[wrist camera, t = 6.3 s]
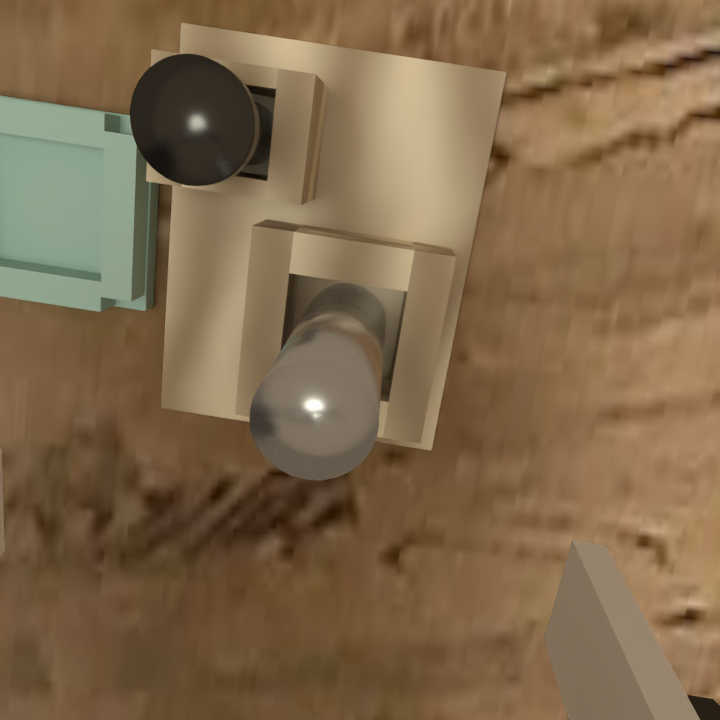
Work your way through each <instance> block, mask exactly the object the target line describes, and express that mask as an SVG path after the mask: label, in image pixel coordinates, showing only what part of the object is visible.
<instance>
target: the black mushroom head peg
mask: <svg viewBox="0 0 720 720" xmlns="http://www.w3.org/2000/svg"><path fill="white" fill-rule="evenodd" d="M273 117H274V116H273V114H272V113H271V112H270V110H268V109H267V108H266V107H265V106H263V105H262V104H260V103H257V102H255V101H254V98H253V96H252V94H251V92H250V91H249V89H248V88H247V86H246V85H245V83H244V82H243V81H242V80H241V79H240V78H239V77H238V76H237V75H236V74H235V73H234V72H232V71H231V70H230V69H228V68H227V67H225V66H223V65H221V64H219V63H218V62H216V61H214V60H212V59H210V58H207V57H204V56H201V55H196V54H177V55H172V56H169V57H166V58H164V59H162V60H160V61H158V62H157V63H155V64H154V65H153V66H151V67H150V68H149V69H148V70H147V71H146V72H145V73H144V74H143V76H142V77H141V79H140V80H139V82H138V84H137V86H136V88H135V90H134V93H133V96H132V101H131V107H130V123H131V130H132V133H133V137H134V140H135V142H136V145H137V147H138V149H139V151H140V153H141V154H142V156H143V157H144V159H145V160H146V161H147V162H148V164H149V165H150V166H151V167H152V168H153V169H154V170H156V171H157V172H158V173H159V174H161V175H162V176H164V177H165V178H167V179H169V180H171V181H173V182H176V183H179V184H183V185H187V186H205V185H213V184H218V183H222V182H224V181H227V180H229V179H231V178H233V177H234V176H236V175H237V174H238V173H240V172H241V171H242V170H243V169H244V168H245V166H246V165H257V164H261V163H263V162H265V161H266V160H268V159H269V158H270V148H271V138H272V128H273Z"/></svg>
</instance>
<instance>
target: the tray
mask: <svg viewBox="0 0 720 720" xmlns="http://www.w3.org/2000/svg"><path fill="white" fill-rule="evenodd" d="M146 172H147V161H146V160H145V159H144V157H143V156H142V154H141V153H140V151H139V149H138V147H137V145H136V142H135V140H134V137H133V133H132V130H131V123H130V115H124V114H117V113H111V112H104V111H98V110H91V109H85V108H78V107H72V106H65V105H58V104H52V103H45V102H39V101H32V100H26V99H19V98H13V97H6V96H0V296H2V297H9V298H15V299H21V300H28V301H34V302H41V303H47V304H53V305H60V306H66V307H73V308H79V309H85V310H92V311H98V312H101V311H103V310H105V309H107V308H109V307H111V306H116V307H123V308H129V309H136V310H142V311H146V310H148V309H150V308H151V307H153V306H154V284H155V263H156V241H157V220H158V199H159V183H154V182H148V181H146Z"/></svg>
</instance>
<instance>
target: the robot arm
mask: <svg viewBox="0 0 720 720" xmlns="http://www.w3.org/2000/svg"><path fill="white" fill-rule="evenodd" d="M4 551H5V548H4V517H3V485H2V454H1V448H0V555H1V554H2V553H3V552H4ZM544 641H545V644H546V647H547V651H548V654H549V657H550V661H551V664H552V667H553V671H554V674H555V677H556V681H557V684H558V687H559V690H560V694H561V697H562V700H563V704H564V707H565V710H566V714H567V717H568V720H720V706H719V705H718V704H717V703H716V702H715V701H714V700H713V699H709V698H703V697H697V696H690V695H686V693H685V691H684V689H683V687H682V685H681V683H680V682H679V680H678V678H677V676H676V674H675V672H674V670H673V669H672V667H671V665H670V663H669V661H668V659H667V657H666V656H665V654H664V652H663V650H662V648H661V646H660V644H659V643H658V641H657V639H656V637H655V635H654V633H653V631H652V630H651V628H650V626H649V624H648V622H647V620H646V618H645V617H644V615H643V613H642V611H641V609H640V607H639V605H638V604H637V602H636V600H635V598H634V596H633V594H632V593H631V591H630V589H629V587H628V585H627V583H626V581H625V580H624V578H623V576H622V574H621V572H620V570H619V568H618V567H617V565H616V563H615V561H614V559H613V557H612V555H611V554H610V552H609V550H608V548H607V546H605V545H599V544H593V543H586V542H580V541H574V540H572V544H571V547H570V551H569V554H568V558H567V561H566V565H565V568H564V571H563V575H562V578H561V582H560V585H559V589H558V592H557V596H556V599H555V603H554V606H553V610H552V613H551V617H550V620H549V623H548V627H547V630H546V634H545V637H544Z"/></svg>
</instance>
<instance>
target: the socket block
mask: <svg viewBox="0 0 720 720" xmlns="http://www.w3.org/2000/svg"><path fill="white" fill-rule="evenodd" d="M177 54H196V55H201V56H204V57H207V58H210V59H212V60H214V61H216V62H218V63H219V64H221V65H223V66H225V67H227V68H228V69H230V70H231V71H232V72H234V73H235V74H236V75H237V76H238V77H239V78H240V79H241V80H242V81H243V82H244V83H245V85H246V86H247V88H248V89H249V91H250V92H251V94H252V96H253V98H254V101H255V102H257V103H260V104H262V105H263V106H265V107H266V108H267V109H268V110H270V112H271V113H272V114H273V116H274V117H273V128H272V138H271V148H270V158H269V159H268V160H266V161H265V162H263V163H261V164H257V165H246V166H245V168H244V169H243V170H242V171H241V172H240V173H238V174H237V175H236V176H234V177H233V178H231V179H229V180H227V181H224V182H222V183H218V184H213V185H205V186H187V185H183V184H179V183H176V182H173V181H171V180H169V179H167V178H165V177H164V176H162V175H161V174H159V173H158V172H157V171H156V170H154V169H153V168H152V167H151V166H150V165H149V164H148V162H147V172H146V181H148V182H154V183H161V184H167V185H173V187H172V206H171V225H170V244H169V262H168V281H167V300H166V319H165V338H164V357H163V375H162V394H161V408H165V409H171V410H177V411H184V412H190V413H196V414H203V415H209V416H215V417H222V418H228V419H234V420H241V421H247V422H250V408H251V403H252V400H253V397H254V395H255V393H256V391H257V389H258V387H259V386H260V384H261V382H262V381H263V379H264V377H265V376H266V374H267V373H268V371H269V369H270V368H271V366H272V365H273V363H274V361H275V360H276V358H277V356H278V355H279V353H280V352H281V350H282V348H283V347H284V345H285V343H286V342H287V340H288V339H289V337H290V335H291V334H292V332H293V331H294V329H295V327H296V326H297V324H298V322H299V321H300V319H301V318H302V316H303V314H304V313H305V311H306V309H307V308H308V306H309V305H310V303H311V301H312V300H313V299H314V297H315V296H316V295H317V294H318V293H319V292H320V291H322V290H323V289H325V288H327V287H329V286H331V285H334V284H339V283H351V284H356V285H359V286H362V287H364V288H365V289H367V290H369V291H370V292H371V293H372V294H373V295H375V297H376V298H377V299H378V300H379V302H380V303H381V305H382V308H383V310H384V313H385V320H386V326H385V340H384V354H383V369H382V383H381V398H380V412H379V426H378V434H377V438H376V441H375V442H380V443H387V444H393V445H399V446H406V447H412V448H418V449H425V450H432V445H433V440H434V435H435V430H436V425H437V420H438V415H439V410H440V405H441V400H442V395H443V390H444V384H445V379H446V374H447V369H448V364H449V359H450V354H451V349H452V344H453V339H454V334H455V329H456V324H457V319H458V314H459V309H460V304H461V299H462V294H463V289H464V284H465V279H466V274H467V269H468V264H469V259H470V254H471V249H472V244H473V239H474V234H475V229H476V223H477V218H478V213H479V208H480V203H481V198H482V193H483V188H484V183H485V178H486V173H487V168H488V163H489V158H490V153H491V148H492V143H493V138H494V133H495V128H496V123H497V118H498V113H499V108H500V103H501V98H502V93H503V88H504V83H505V78H506V73H507V72H502V71H496V70H489V69H483V68H476V67H469V66H463V65H456V64H450V63H443V62H436V61H430V60H423V59H417V58H410V57H403V56H397V55H390V54H384V53H377V52H371V51H364V50H357V49H351V48H344V47H338V46H331V45H324V44H318V43H311V42H305V41H298V40H291V39H285V38H278V37H272V36H265V35H258V34H252V33H245V32H239V31H232V30H225V29H219V28H212V27H206V26H199V25H192V24H186V23H181V37H180V53H173V52H167V51H160V50H154V49H152V50H151V66H153V65H154V64H155V63H157V62H158V61H160V60H162V59H164V58H166V57H169V56H172V55H177Z"/></svg>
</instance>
